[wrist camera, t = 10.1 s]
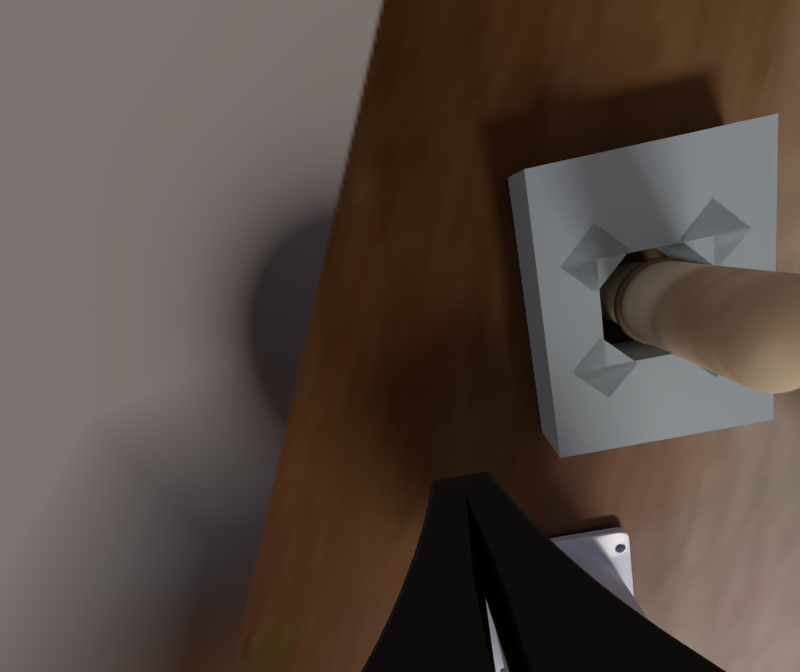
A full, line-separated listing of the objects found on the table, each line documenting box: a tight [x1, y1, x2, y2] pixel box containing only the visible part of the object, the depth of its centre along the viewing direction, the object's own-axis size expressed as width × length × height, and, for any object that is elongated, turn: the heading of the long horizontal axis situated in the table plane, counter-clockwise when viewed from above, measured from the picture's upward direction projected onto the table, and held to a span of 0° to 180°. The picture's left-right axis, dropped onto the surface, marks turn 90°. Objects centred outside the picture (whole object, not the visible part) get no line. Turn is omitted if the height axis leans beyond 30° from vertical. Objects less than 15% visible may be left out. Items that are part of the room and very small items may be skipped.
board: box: [508, 114, 778, 458], centre depth 17 cm, size 12×9×2 cm
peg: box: [599, 257, 800, 393], centre depth 15 cm, size 3×3×8 cm
